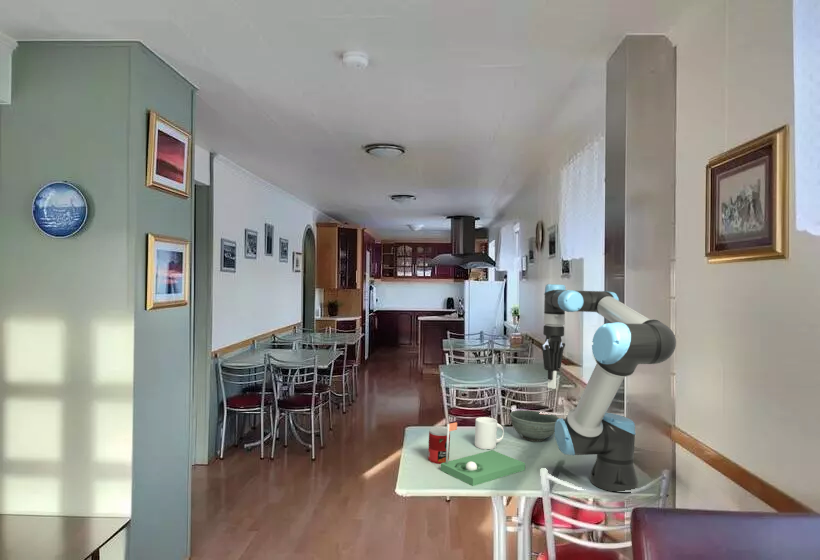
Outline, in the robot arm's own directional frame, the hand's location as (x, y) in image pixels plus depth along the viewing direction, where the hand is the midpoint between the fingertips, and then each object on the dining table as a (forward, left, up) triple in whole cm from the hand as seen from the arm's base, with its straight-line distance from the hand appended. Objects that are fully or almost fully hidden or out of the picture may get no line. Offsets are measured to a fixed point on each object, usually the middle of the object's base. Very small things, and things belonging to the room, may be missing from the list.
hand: (551, 388), depth 200 cm
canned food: (+23, +35, -28) cm, 50 cm away
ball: (+7, +34, -25) cm, 43 cm away
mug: (+24, +7, -28) cm, 37 cm away
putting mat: (+7, +28, -28) cm, 40 cm away
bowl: (+21, -17, -28) cm, 38 cm away
